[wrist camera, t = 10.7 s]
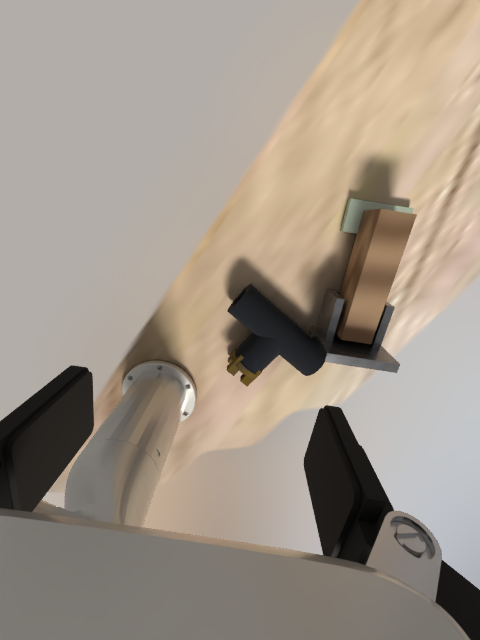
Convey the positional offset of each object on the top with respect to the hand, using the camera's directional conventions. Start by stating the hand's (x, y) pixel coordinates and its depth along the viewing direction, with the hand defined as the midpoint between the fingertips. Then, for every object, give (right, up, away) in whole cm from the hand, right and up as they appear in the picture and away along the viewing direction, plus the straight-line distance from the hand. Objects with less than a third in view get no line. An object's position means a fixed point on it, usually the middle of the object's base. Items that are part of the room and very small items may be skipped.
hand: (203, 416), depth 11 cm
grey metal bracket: (+17, +4, +30) cm, 35 cm away
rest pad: (+19, +17, +25) cm, 36 cm away
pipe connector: (+5, +1, +32) cm, 32 cm away
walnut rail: (+18, +10, +26) cm, 34 cm away
